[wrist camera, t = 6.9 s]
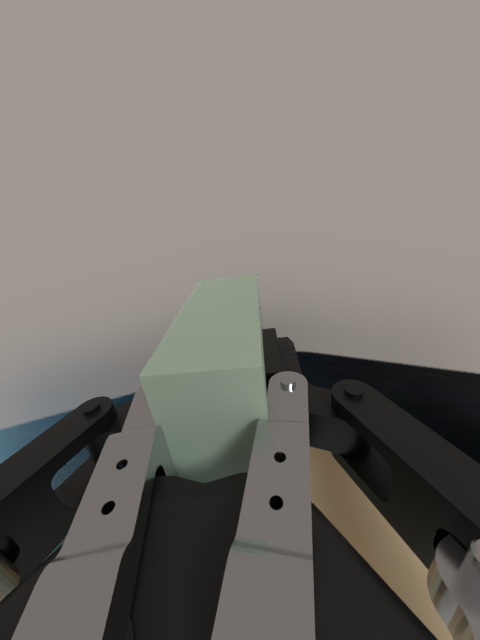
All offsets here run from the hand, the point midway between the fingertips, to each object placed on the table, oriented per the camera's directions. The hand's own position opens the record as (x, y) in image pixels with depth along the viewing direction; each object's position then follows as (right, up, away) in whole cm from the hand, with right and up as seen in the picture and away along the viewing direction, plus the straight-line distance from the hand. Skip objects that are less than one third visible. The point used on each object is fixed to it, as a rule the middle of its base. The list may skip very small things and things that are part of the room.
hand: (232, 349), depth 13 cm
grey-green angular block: (+1, -11, +3) cm, 11 cm away
